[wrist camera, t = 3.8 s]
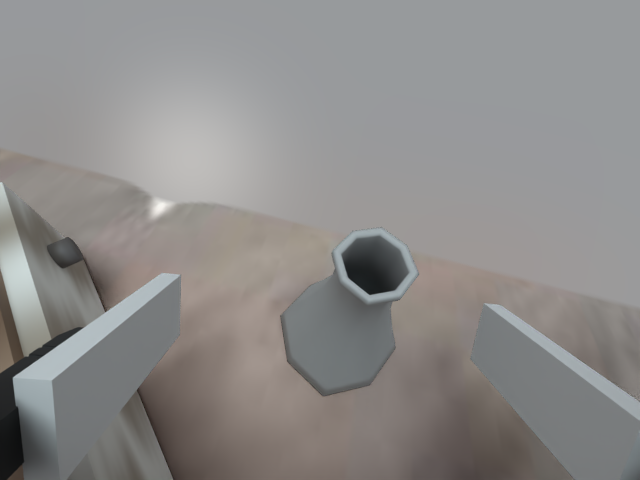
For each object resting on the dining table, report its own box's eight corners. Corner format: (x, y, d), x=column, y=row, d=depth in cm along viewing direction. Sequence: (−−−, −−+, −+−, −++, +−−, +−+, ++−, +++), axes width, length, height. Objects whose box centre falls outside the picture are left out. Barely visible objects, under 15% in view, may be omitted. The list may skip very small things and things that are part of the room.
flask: (317, 421, 17) (350, 410, 9) (261, 311, 20) (247, 226, 12) (413, 354, 20) (509, 298, 11) (351, 265, 23) (391, 169, 14)
